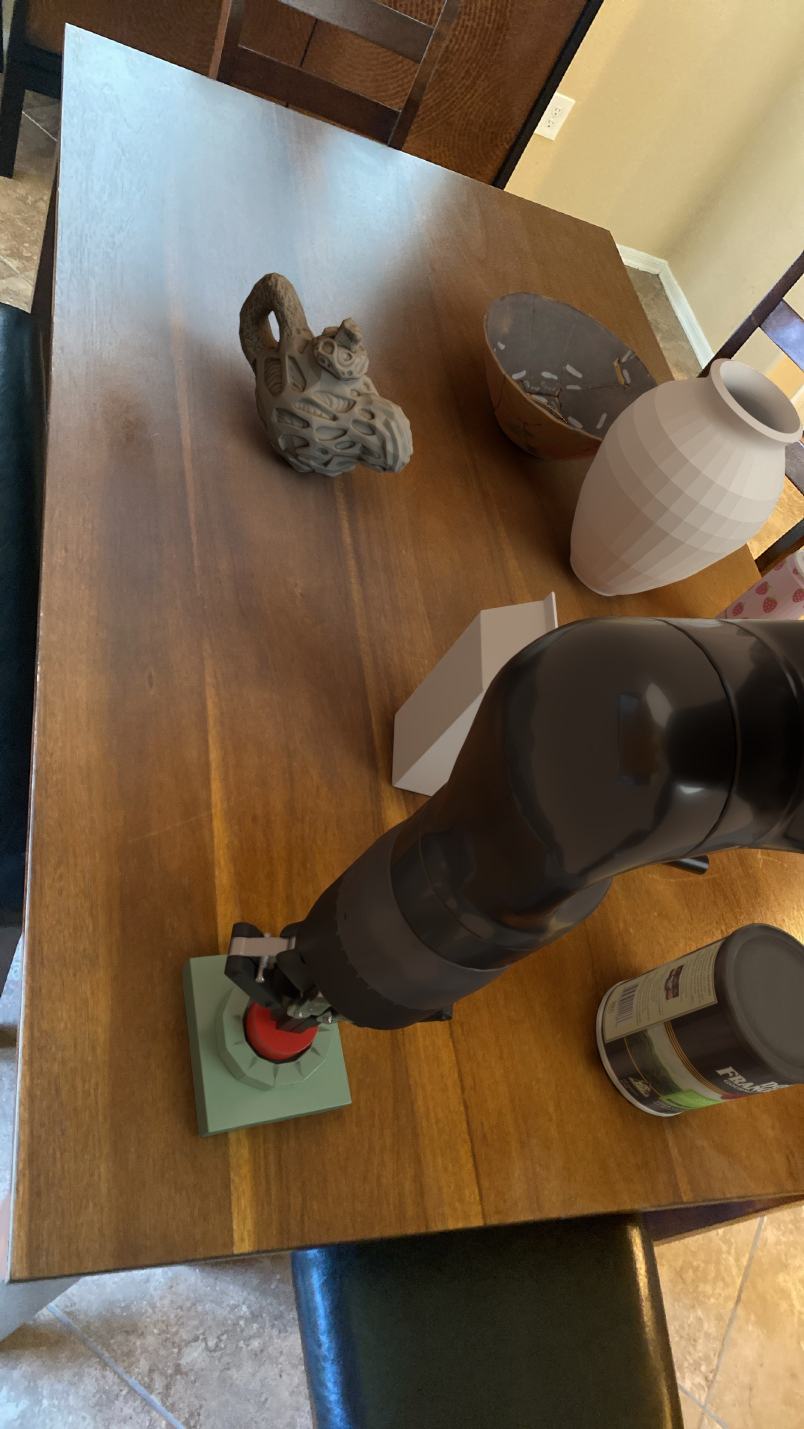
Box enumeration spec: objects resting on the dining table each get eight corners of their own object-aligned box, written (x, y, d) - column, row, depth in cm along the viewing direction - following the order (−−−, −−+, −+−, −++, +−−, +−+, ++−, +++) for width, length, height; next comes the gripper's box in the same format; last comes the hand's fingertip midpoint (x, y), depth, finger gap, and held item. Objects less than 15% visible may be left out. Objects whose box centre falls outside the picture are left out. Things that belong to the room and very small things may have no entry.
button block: (339, 1109, 55) (363, 1098, 52) (198, 1138, 51) (216, 1128, 48) (312, 953, 60) (333, 935, 57) (181, 967, 55) (196, 949, 52)
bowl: (546, 357, 118) (590, 293, 110) (650, 494, 111) (704, 436, 103) (405, 357, 103) (444, 283, 95) (515, 517, 96) (566, 451, 88)
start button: (314, 1054, 53) (324, 1047, 51) (250, 1065, 51) (259, 1058, 49) (303, 987, 54) (312, 980, 53) (241, 995, 52) (249, 988, 51)
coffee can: (715, 1119, 67) (867, 1086, 56) (606, 1114, 63) (746, 1078, 52) (687, 984, 72) (820, 930, 62) (585, 972, 69) (708, 913, 58)
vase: (577, 644, 89) (755, 469, 70) (502, 511, 95) (647, 318, 76) (687, 627, 99) (868, 471, 80) (612, 508, 105) (764, 336, 86)
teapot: (405, 497, 89) (476, 381, 78) (339, 542, 82) (408, 421, 70) (256, 360, 90) (304, 226, 79) (177, 391, 83) (218, 248, 71)
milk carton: (390, 787, 70) (513, 656, 55) (393, 714, 74) (509, 575, 59) (468, 807, 72) (605, 687, 58) (467, 736, 76) (595, 606, 62)
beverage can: (706, 624, 101) (806, 540, 90) (740, 661, 100) (845, 581, 89) (684, 641, 97) (785, 556, 86) (719, 680, 96) (826, 599, 85)
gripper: (260, 973, 34) (163, 1062, 47) (550, 1034, 38) (386, 1100, 51) (287, 804, 38) (191, 928, 51) (545, 875, 42) (395, 973, 55)
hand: (289, 1014), depth 51 cm, fingers closed
